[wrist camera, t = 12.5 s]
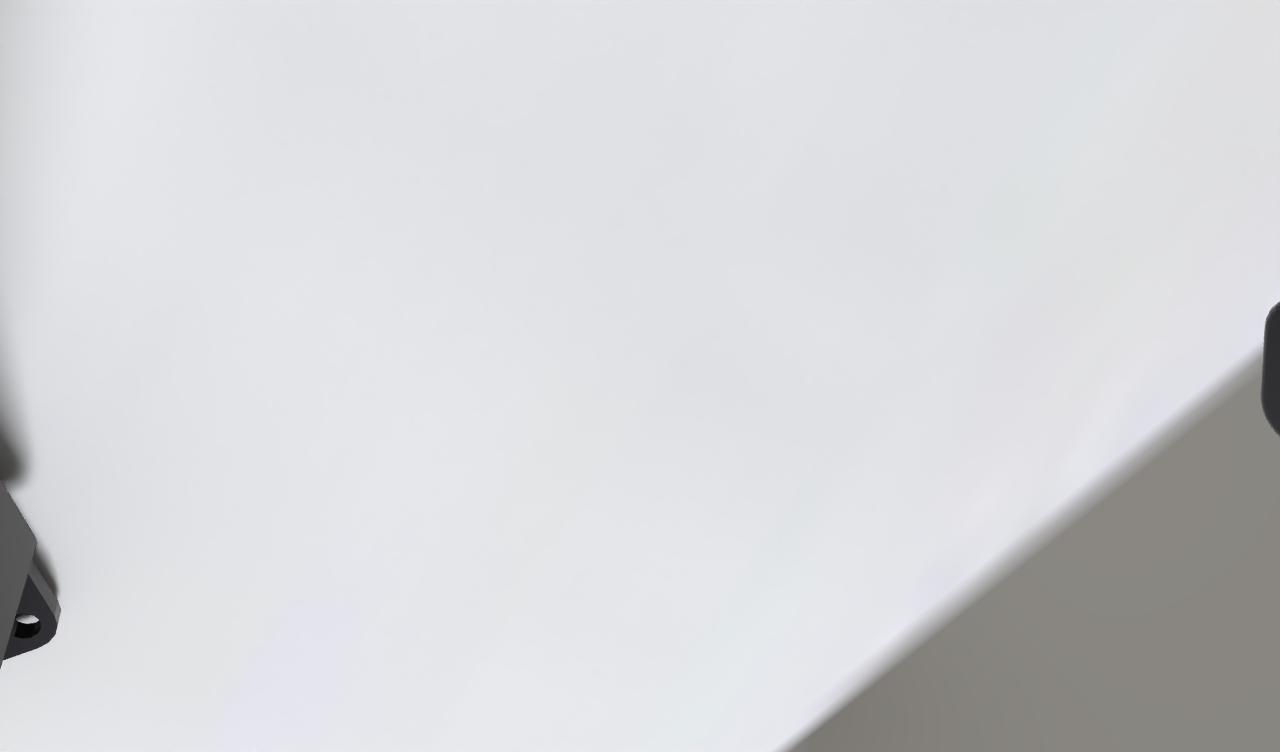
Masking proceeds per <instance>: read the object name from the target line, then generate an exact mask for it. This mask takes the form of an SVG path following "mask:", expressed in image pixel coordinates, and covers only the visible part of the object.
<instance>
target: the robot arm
mask: <svg viewBox="0 0 1280 752" xmlns="http://www.w3.org/2000/svg"><path fill="white" fill-rule="evenodd" d="M1261 379H1262V381H1261V404H1262V408H1263V411H1264V414H1265V416H1266V419H1267V420H1268V422H1269V424H1270V425H1271V427H1272V428H1273V430H1274V431H1275V432H1276V433H1277V434H1278V435H1279V436H1280V302H1279V303H1277V304H1276V305H1275V306H1274V307H1272V309H1271V310H1270V312H1269V314H1268V316H1267V318H1266V322H1265V332H1264V347H1263V363H1262V378H1261ZM36 544H37V541H36V538H35V536H34V534H33V532H32V531H31V529H30V527H29V526H28V524H27V522H26V521H25V519H24V518H23V516H22V514H21V513H20V511H19V509H18V508H17V506H16V504H15V503H14V501H13V500H12V498H11V496H10V495H9V493H8V491H7V490H6V488H5V486H4V485H3V483H2V481H1V480H0V668H1V665H2V661H3V660H6V659H8V658H11V657H14V656H17V655H20V654H23V653H25V652H28V651H31V650H34V649H37V648H39V647H41V646H43V645H45V644H47V643H48V642H49V641H50V640H51V639H52V638H53V637H54V635H55V634H56V630H57V626H58V621H59V617H60V612H61V609H60V606H59V603H58V600H57V599H56V597H55V595H54V594H53V592H52V590H51V589H50V587H49V586H48V584H47V582H46V581H45V579H44V578H43V576H42V574H41V573H40V571H39V569H38V568H37V566H36V565H35V563H34V561H33V560H32V558H33V554H34V551H35V548H36ZM24 613H26V614H30V615H34V616H35V617H36V618H38V619H39V621H37V622H36V623H30V624H25V623H21V622H18V621H17V620H16V619H15V617H16V615H17V614H24Z"/></svg>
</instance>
